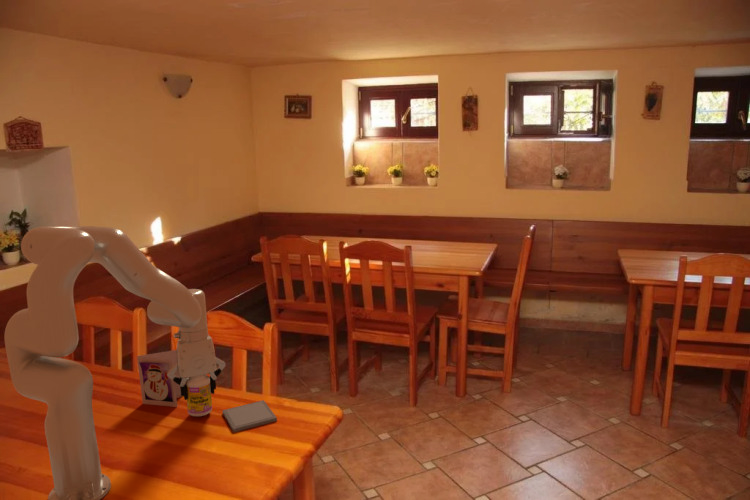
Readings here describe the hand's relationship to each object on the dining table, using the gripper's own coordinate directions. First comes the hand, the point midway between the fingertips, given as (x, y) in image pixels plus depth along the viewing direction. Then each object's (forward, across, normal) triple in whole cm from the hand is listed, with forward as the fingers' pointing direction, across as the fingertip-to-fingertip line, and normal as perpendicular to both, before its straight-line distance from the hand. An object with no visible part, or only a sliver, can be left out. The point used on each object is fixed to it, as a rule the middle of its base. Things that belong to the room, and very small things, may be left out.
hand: (198, 394), depth 167 cm
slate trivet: (+6, +12, -8) cm, 16 cm away
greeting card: (+6, -7, +14) cm, 17 cm away
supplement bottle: (+5, 0, 0) cm, 5 cm away
